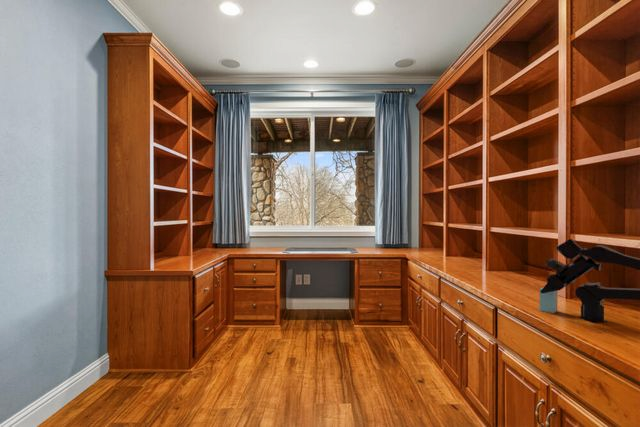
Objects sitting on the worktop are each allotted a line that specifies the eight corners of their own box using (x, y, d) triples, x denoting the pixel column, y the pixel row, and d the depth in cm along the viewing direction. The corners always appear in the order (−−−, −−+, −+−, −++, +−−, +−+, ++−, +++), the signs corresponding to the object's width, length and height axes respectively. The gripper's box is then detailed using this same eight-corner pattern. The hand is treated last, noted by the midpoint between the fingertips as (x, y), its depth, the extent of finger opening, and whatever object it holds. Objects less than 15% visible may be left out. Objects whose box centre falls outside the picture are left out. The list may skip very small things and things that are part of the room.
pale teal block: (557, 310, 137) (557, 289, 137) (553, 313, 133) (553, 291, 133) (543, 308, 140) (543, 287, 140) (539, 310, 137) (539, 288, 137)
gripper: (566, 250, 140) (536, 272, 148) (553, 254, 128) (521, 278, 136) (589, 271, 134) (556, 293, 142) (578, 278, 122) (543, 300, 130)
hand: (544, 290), depth 138 cm, fingers open, 9 cm apart
